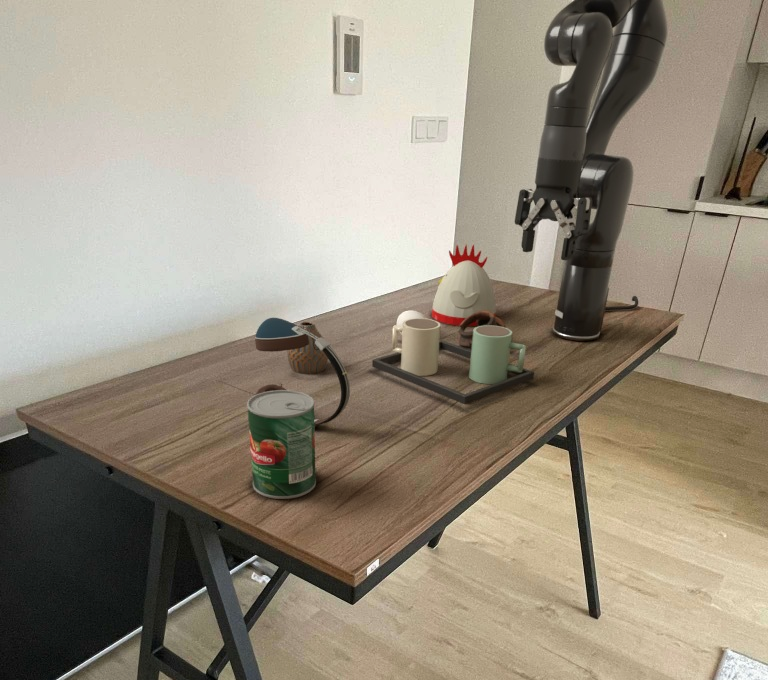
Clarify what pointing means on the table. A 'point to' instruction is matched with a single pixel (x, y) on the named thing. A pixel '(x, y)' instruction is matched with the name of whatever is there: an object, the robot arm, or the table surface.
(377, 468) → the table surface
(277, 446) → the canned tomato
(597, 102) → the robot arm
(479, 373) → the green cup
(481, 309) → the kitchen timer
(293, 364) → the vase
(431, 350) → the cream cup
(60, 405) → the table surface
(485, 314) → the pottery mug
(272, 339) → the headphones
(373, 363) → the tray
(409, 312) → the stress ball
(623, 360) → the table surface
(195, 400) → the table surface
